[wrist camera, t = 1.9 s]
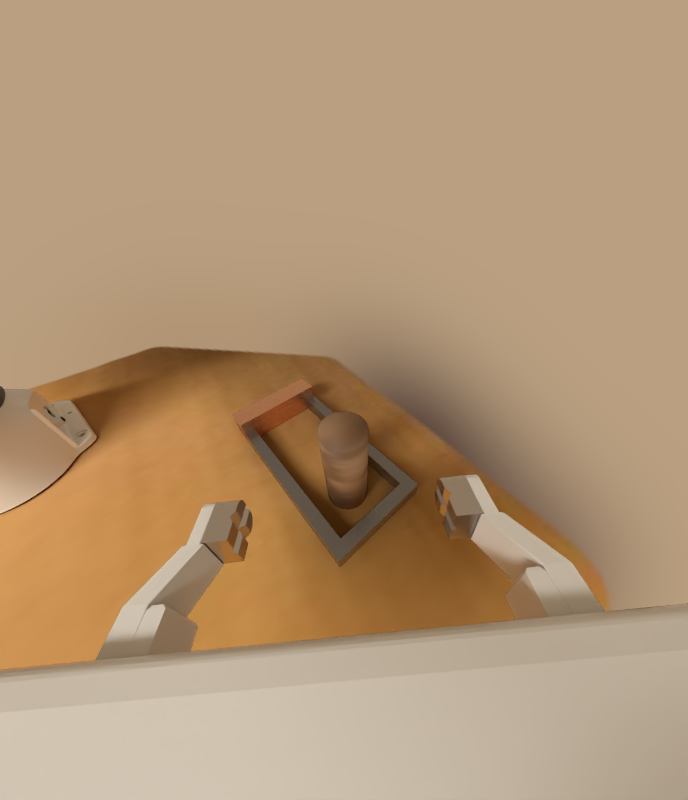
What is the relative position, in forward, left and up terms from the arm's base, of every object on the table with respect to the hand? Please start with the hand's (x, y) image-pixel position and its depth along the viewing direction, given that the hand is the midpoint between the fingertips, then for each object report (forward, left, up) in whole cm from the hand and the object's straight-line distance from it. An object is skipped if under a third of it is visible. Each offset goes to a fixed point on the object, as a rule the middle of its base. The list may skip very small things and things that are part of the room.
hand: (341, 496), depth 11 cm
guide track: (-15, +7, -21) cm, 27 cm away
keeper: (-9, +7, -21) cm, 24 cm away
